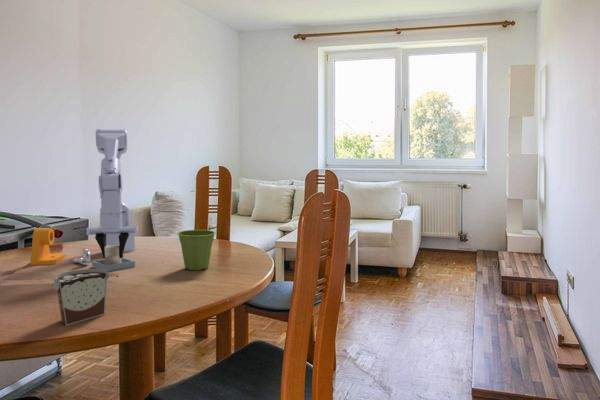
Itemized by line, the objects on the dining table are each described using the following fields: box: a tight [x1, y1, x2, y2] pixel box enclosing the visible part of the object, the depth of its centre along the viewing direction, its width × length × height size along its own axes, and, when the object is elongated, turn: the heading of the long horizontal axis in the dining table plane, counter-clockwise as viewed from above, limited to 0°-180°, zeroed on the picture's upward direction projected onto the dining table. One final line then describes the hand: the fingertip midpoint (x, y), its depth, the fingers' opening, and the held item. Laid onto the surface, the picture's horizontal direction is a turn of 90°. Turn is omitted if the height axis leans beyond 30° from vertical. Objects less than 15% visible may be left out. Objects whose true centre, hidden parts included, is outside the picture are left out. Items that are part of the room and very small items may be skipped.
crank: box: [72, 248, 91, 266], centre depth 164 cm, size 9×3×5 cm, turn 45°
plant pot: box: [176, 229, 217, 271], centre depth 163 cm, size 12×12×11 cm
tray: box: [91, 256, 136, 273], centre depth 160 cm, size 9×9×3 cm
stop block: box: [105, 245, 121, 265], centre depth 159 cm, size 4×4×6 cm
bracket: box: [30, 227, 67, 266], centre depth 168 cm, size 11×7×12 cm, turn 6°
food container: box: [52, 268, 110, 327], centre depth 115 cm, size 12×6×10 cm, turn 145°
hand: (113, 257), depth 160 cm, fingers open, 4 cm apart
